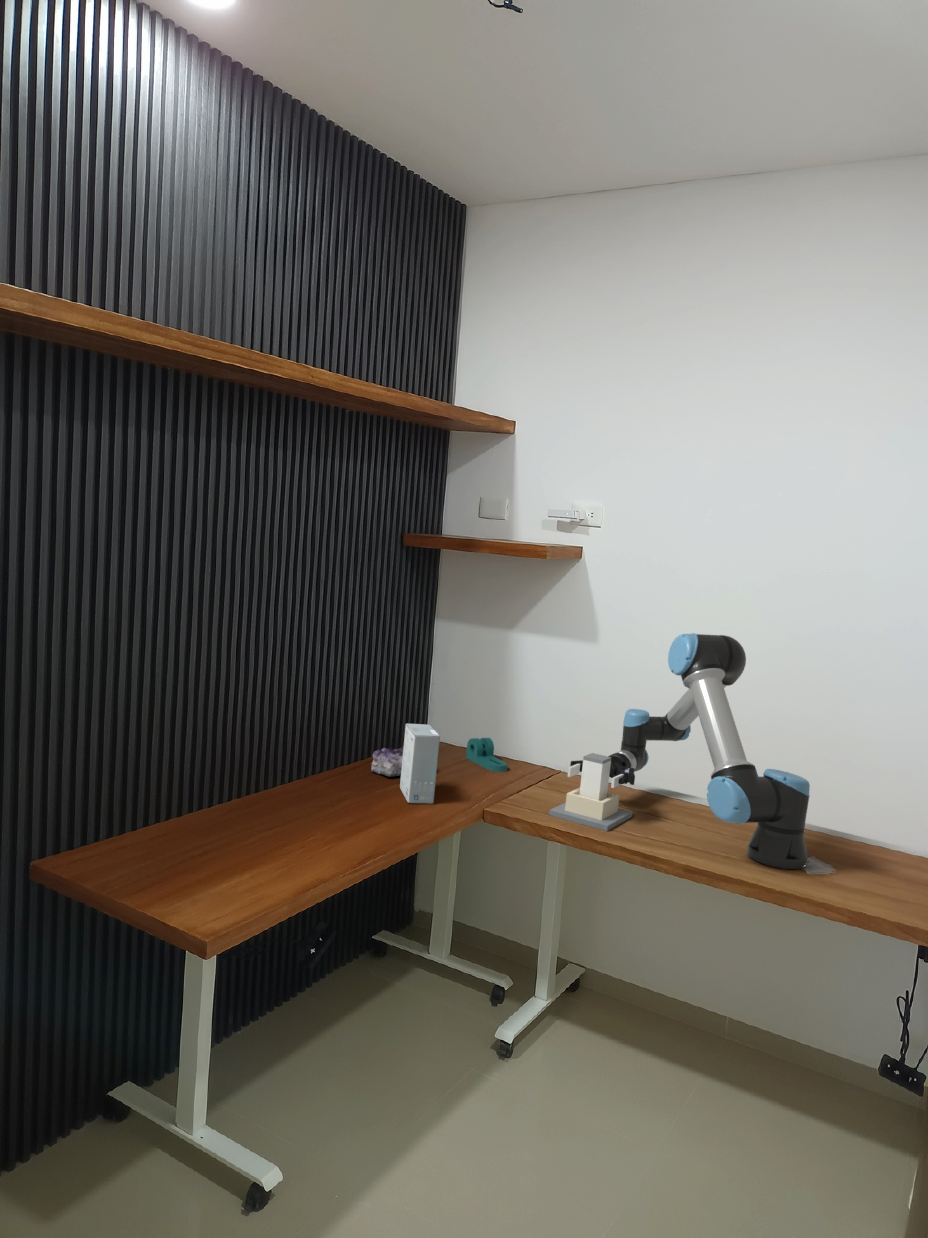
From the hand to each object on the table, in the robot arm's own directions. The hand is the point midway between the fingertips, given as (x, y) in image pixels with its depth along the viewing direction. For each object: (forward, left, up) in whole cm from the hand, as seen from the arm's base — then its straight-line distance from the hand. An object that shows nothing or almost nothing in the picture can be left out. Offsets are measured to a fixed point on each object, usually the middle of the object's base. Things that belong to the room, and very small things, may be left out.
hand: (590, 777), depth 255 cm
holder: (0, -3, -12) cm, 12 cm away
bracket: (+49, -28, -12) cm, 58 cm away
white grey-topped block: (0, -3, -10) cm, 11 cm away
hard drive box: (+45, +21, -12) cm, 51 cm away
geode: (+62, +4, -12) cm, 63 cm away
